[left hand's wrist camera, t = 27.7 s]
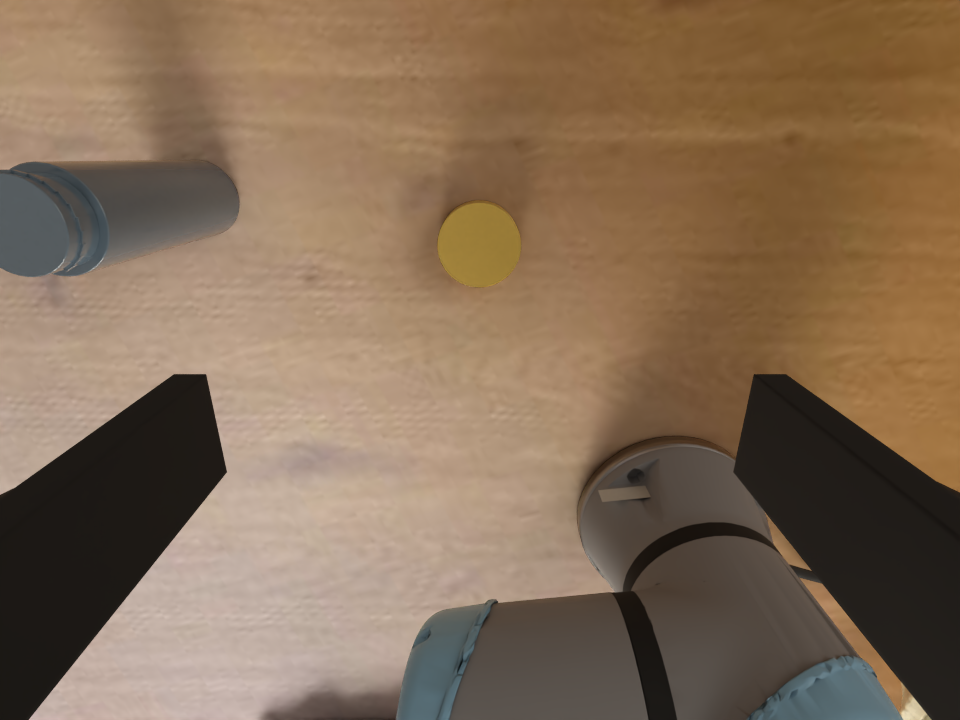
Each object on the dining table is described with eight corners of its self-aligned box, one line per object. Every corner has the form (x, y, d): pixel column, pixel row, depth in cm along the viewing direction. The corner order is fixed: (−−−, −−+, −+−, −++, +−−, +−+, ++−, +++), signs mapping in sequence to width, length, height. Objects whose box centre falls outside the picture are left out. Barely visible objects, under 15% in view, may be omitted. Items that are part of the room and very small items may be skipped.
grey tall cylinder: (249, 183, 35) (91, 202, 21) (226, 247, 37) (63, 306, 23) (178, 145, 34) (-39, 137, 20) (157, 212, 36) (-58, 250, 22)
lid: (425, 253, 37) (421, 259, 35) (466, 183, 35) (465, 185, 33) (491, 294, 38) (491, 302, 36) (534, 228, 36) (537, 232, 34)
